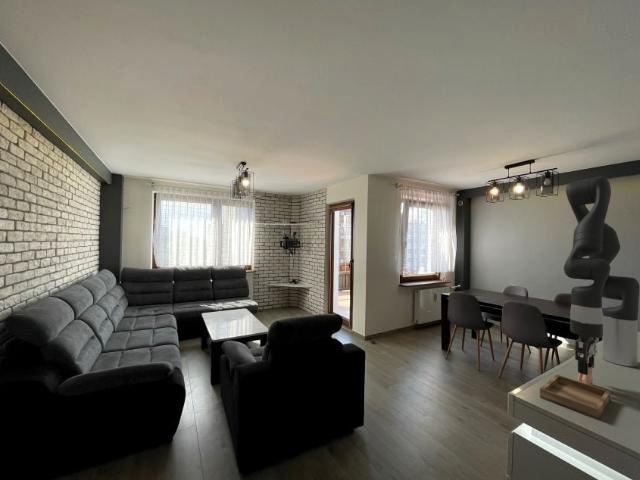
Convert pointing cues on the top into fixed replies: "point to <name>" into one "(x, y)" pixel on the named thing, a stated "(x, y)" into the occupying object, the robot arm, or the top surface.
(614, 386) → the top surface
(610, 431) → the top surface
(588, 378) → the grandmother figurine
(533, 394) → the top surface
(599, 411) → the walnut tray
